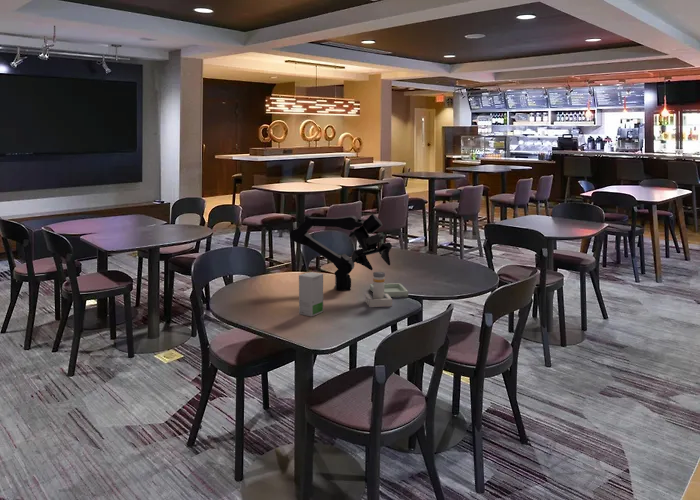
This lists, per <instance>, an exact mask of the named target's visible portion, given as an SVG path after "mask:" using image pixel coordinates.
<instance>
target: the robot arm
mask: <svg viewBox="0 0 700 500" xmlns="http://www.w3.org/2000/svg"><path fill="white" fill-rule="evenodd" d="M312 227H324V228H325V227H328V228H330V227H331V228H339V229H341V230H346V231H347V230H348V231H349V235H348V237H349V238H351V239H356V241H357V243H358V249H354V251H353V252H352V254H351V256H349V255H347V254H346V253H343V254H342V255H340V254H338V253H336V252H335V251H333V250H331V249H330V248H328V247H327V246H326V245H325V244H323V243H321V242H320V241H318V240H316V239H315V238H313V237H312V236H311V234H310V233H309V232H308V231H309V230H310V229H311V228H312ZM381 227H383V223H382V221H381V220H380V218H379V217H378V216H376V215H375V214H374V213H371V215H369V216H368V217H367V218H366V219H365V220H364V219H360V218H358V217H357V216H356V215H346V216H341V217H323V216H322V217H320V216H319V217H316V216H309V217H307V218H306V219H305V220H304V221H303V222H302V223H301V224H300V225H299V226H298V227H296V228H294V229H292V230H291V231H290V233H289V234H290V235H289V238H290V239H291V241H293V242H295V243H297V244H298V245H299V244H300V245H303V246H306V247H308V248H310V249H311V250H312V251H314V252H316V253H317V254H318V255H321V256H322V257H324V258H325V260H328V261H330V262H331V263H333V266H335V268H336V270H335V271H334V273H333V274H334V276H335V277H334V278H335V279H334V281H335V282H334V284H335V285H334V288H335V290H336V291H350V290H351V289H352V278H351V275H350V273H351V272H352V271H353V269H355V263H356V264H359V265H361V266H363V267H365V268H367V269H368V270H369V271H373V266H372V264H371V262H370V261H369V259H368V258H367V256H368V255H369V256H370V255H375V254H377V253H378V254H379V255H380V257H381V258H382V259H383V261H384V262H385V263H386V264H387V266H390V265H391V260H390V255H389V254H390V251H391V249H392V248H393V245H392V244H391V242H389V241H388V242H383V243H381V242H382V241H383V240H384V235H383V234H382V233H381V232H377V230H379V229H380V228H381ZM352 230H353V231H352ZM375 232H377V233H376V234H374V233H375ZM370 233H371V234H372V235H369V234H370ZM379 243H381V245H380V246H379ZM378 246H379V247H378Z"/></svg>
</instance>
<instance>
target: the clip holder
mask: <svg viewBox="0 0 700 500" xmlns="http://www.w3.org/2000/svg"><path fill="white" fill-rule="evenodd" d="M384 297H385V298H384V299H373V296H372V295H371V294H370V293H365V297H364V298H365V303H366V304H367V306H368V307H369V308H379V307H383V308H384V307H392V306H393V298H391V297H390V296H389V295H388V294H384Z"/></svg>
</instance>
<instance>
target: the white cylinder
mask: <svg viewBox="0 0 700 500" xmlns="http://www.w3.org/2000/svg"><path fill="white" fill-rule="evenodd" d="M372 276H373V278H372V279H373V280H372V284H373V293H372V298H373V299H384V284H386V283H385V282H386V279H385V277H386V272H384V271H374V272H373V275H372Z"/></svg>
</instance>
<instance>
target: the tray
mask: <svg viewBox="0 0 700 500" xmlns="http://www.w3.org/2000/svg"><path fill="white" fill-rule="evenodd" d="M369 290H370V292H371V291H372V292H373V283H370V284H369ZM372 292H371V293H372ZM384 294H388V295H389V296H390V297H393V298H397V297H396V296H400V297H399V298H408V297H409V290H407V288H406V287H405V286H404V285H403V284H402V283H401V282H398V283H397V282H393V283H384ZM384 298H385V297H384Z"/></svg>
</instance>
